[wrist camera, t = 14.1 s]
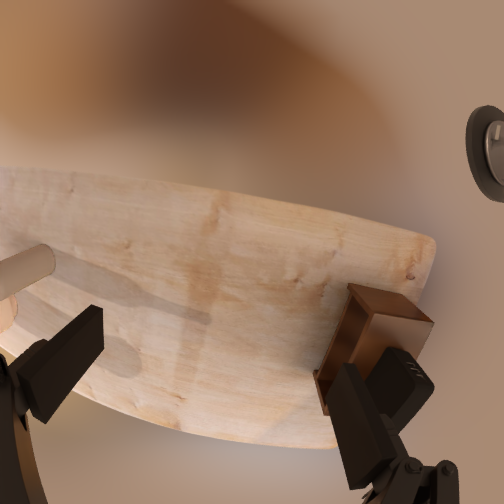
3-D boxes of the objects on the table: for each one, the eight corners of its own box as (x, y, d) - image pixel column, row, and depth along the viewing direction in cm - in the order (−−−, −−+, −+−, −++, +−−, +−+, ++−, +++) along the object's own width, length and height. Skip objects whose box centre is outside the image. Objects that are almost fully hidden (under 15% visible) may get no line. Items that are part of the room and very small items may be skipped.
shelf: (348, 282, 46) (374, 313, 34) (402, 294, 46) (434, 322, 35) (312, 373, 50) (323, 415, 39) (363, 378, 51) (381, 416, 39)
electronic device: (407, 349, 36) (437, 387, 26) (374, 396, 38) (394, 438, 28) (387, 344, 35) (417, 385, 26) (354, 393, 38) (372, 438, 28)
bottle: (55, 278, 47) (-39, 338, 19) (35, 269, 46) (-56, 320, 19) (55, 248, 45) (-50, 297, 18) (35, 240, 45) (-65, 282, 18)
